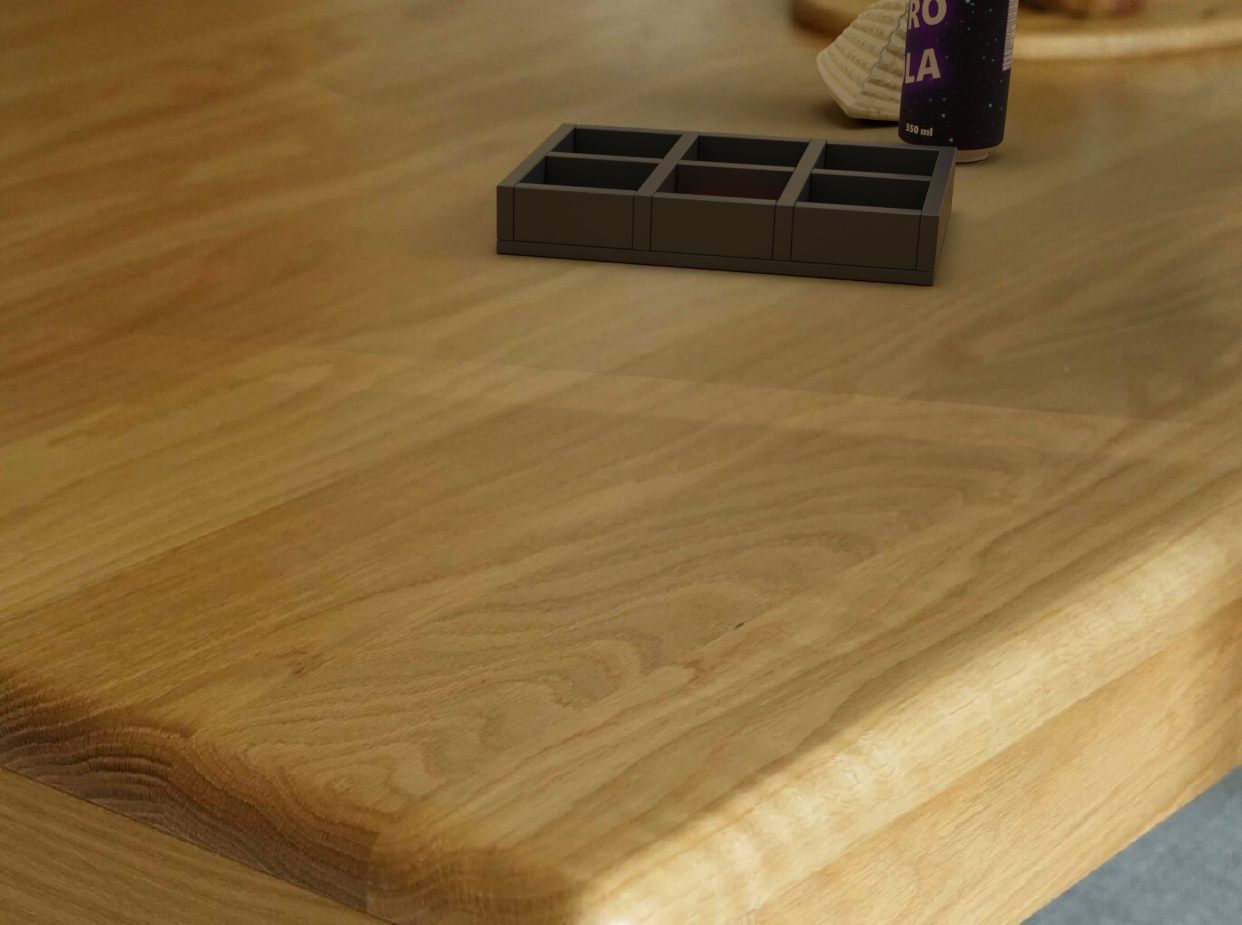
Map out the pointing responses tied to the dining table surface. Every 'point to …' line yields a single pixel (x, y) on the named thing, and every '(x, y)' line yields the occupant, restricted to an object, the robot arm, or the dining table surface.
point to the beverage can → (957, 74)
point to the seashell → (868, 62)
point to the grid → (731, 202)
